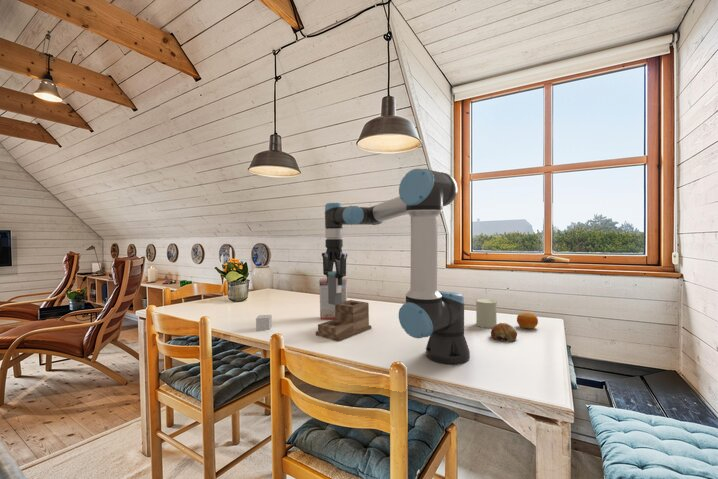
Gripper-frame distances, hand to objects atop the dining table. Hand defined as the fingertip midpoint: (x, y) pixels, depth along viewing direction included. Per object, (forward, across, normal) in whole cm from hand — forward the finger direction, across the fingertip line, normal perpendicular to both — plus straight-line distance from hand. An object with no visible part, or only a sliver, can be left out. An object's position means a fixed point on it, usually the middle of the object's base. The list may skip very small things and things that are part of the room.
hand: (334, 291), depth 143 cm
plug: (+5, 0, 0) cm, 5 cm away
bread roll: (+19, -59, -39) cm, 73 cm away
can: (+19, -48, -53) cm, 74 cm away
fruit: (+19, -64, -60) cm, 90 cm away
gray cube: (+20, +34, +14) cm, 41 cm away
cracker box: (+19, +20, -20) cm, 35 cm away
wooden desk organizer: (+19, 0, -5) cm, 20 cm away
